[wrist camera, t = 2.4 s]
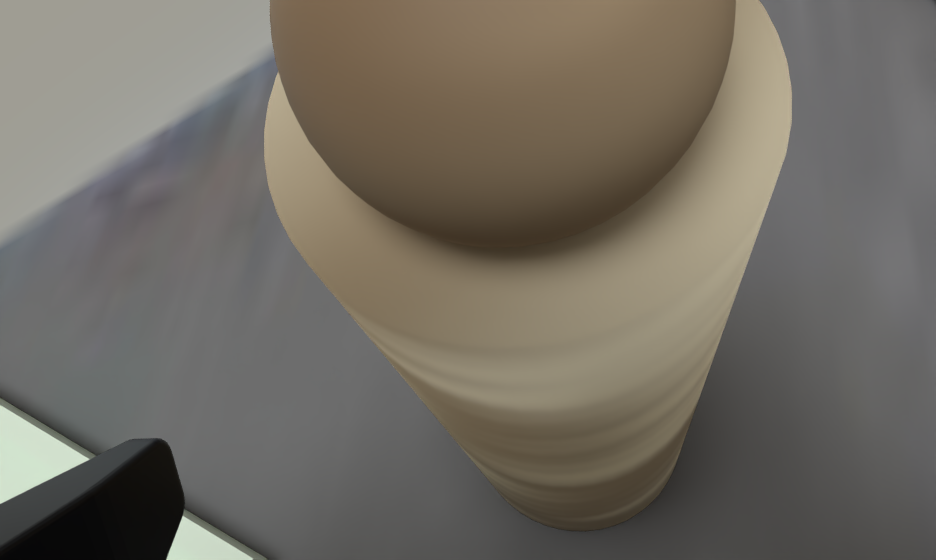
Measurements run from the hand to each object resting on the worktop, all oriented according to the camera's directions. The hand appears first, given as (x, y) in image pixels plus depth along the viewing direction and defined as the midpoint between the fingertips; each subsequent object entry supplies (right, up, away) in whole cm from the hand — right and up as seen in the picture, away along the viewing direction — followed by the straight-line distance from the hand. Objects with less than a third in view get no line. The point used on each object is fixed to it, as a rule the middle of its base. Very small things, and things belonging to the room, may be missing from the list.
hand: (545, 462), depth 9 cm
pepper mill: (+2, -1, +10) cm, 10 cm away
